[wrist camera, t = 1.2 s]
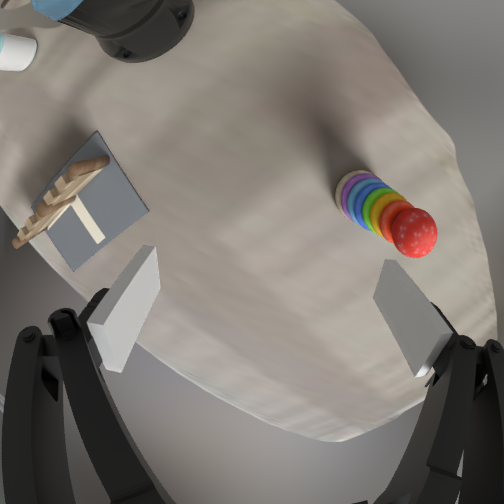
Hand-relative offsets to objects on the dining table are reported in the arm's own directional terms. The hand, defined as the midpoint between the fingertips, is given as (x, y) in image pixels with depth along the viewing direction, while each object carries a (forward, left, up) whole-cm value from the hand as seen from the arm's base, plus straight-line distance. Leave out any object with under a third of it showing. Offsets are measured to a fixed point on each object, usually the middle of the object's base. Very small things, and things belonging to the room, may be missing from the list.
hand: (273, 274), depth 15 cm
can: (-50, -23, -26) cm, 61 cm away
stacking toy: (+8, +12, -26) cm, 30 cm away
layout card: (-14, -28, -26) cm, 40 cm away
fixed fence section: (-17, -33, -26) cm, 45 cm away
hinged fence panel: (-17, -22, -25) cm, 37 cm away
